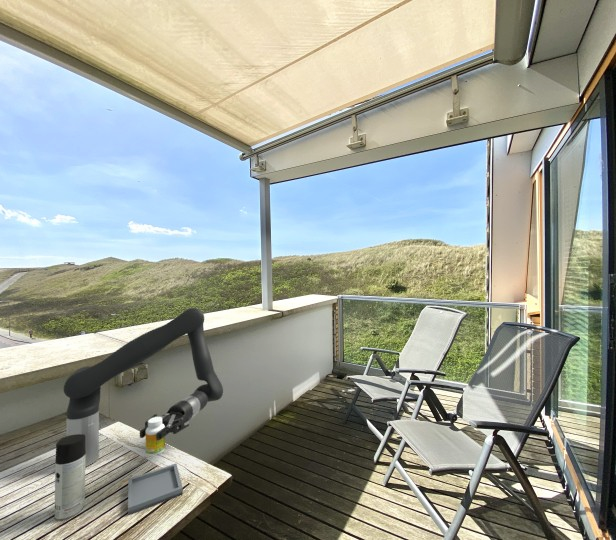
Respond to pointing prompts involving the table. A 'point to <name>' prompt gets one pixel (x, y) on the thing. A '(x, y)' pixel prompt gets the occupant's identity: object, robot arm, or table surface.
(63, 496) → the spray can
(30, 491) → the table surface
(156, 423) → the supplement bottle
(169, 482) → the tray
